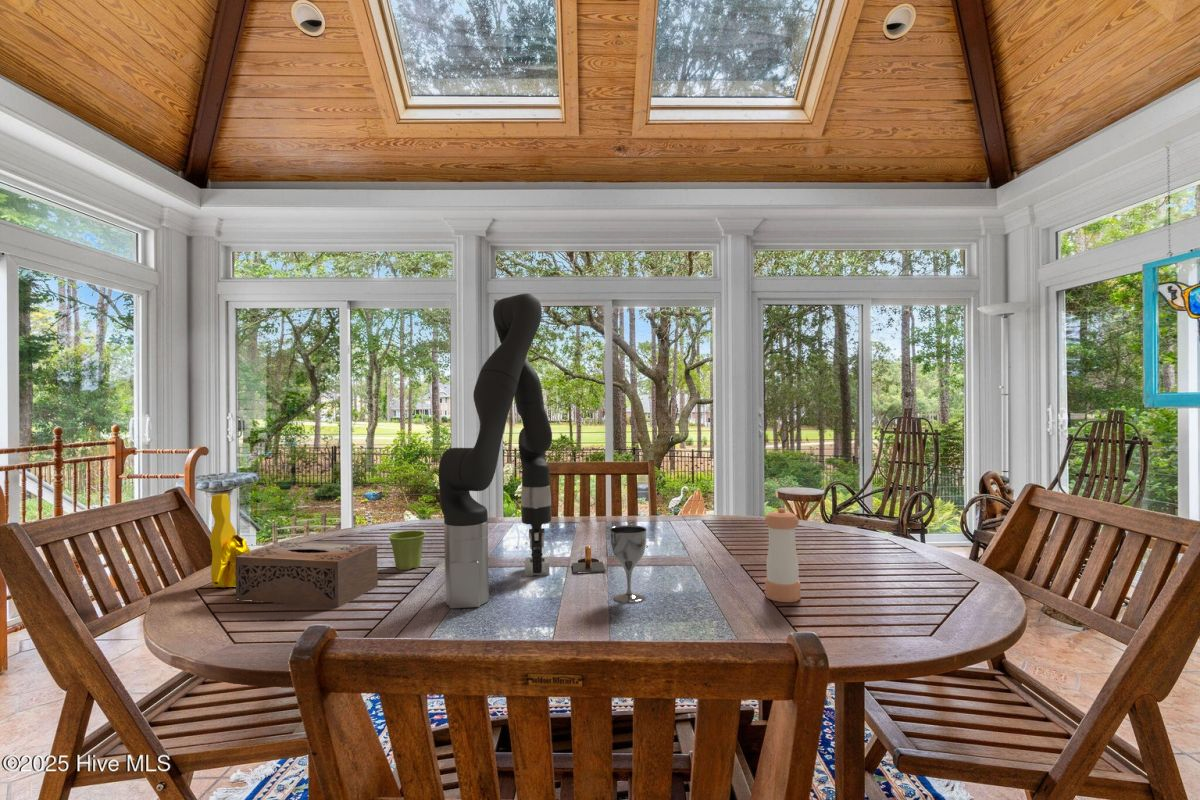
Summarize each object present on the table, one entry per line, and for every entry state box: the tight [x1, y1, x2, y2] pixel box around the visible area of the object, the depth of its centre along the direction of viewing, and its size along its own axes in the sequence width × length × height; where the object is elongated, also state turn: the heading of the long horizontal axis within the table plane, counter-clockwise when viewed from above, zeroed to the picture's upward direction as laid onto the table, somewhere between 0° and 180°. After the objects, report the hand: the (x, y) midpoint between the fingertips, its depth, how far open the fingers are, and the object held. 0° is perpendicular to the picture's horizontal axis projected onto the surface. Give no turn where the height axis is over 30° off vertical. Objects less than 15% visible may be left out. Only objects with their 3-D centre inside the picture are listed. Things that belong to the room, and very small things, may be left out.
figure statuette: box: [209, 493, 252, 588], centre depth 145 cm, size 18×8×22 cm, turn 1°
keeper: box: [571, 545, 607, 574], centre depth 154 cm, size 8×8×6 cm
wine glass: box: [609, 524, 647, 605], centre depth 131 cm, size 8×8×15 cm
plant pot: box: [387, 530, 427, 571], centre depth 158 cm, size 9×9×9 cm
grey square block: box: [524, 556, 550, 577], centre depth 152 cm, size 6×6×3 cm
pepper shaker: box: [764, 507, 802, 603], centre depth 130 cm, size 7×7×19 cm
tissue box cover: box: [235, 541, 379, 608], centre depth 138 cm, size 26×14×10 cm, turn 78°
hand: (537, 568), depth 152 cm, fingers open, 8 cm apart
